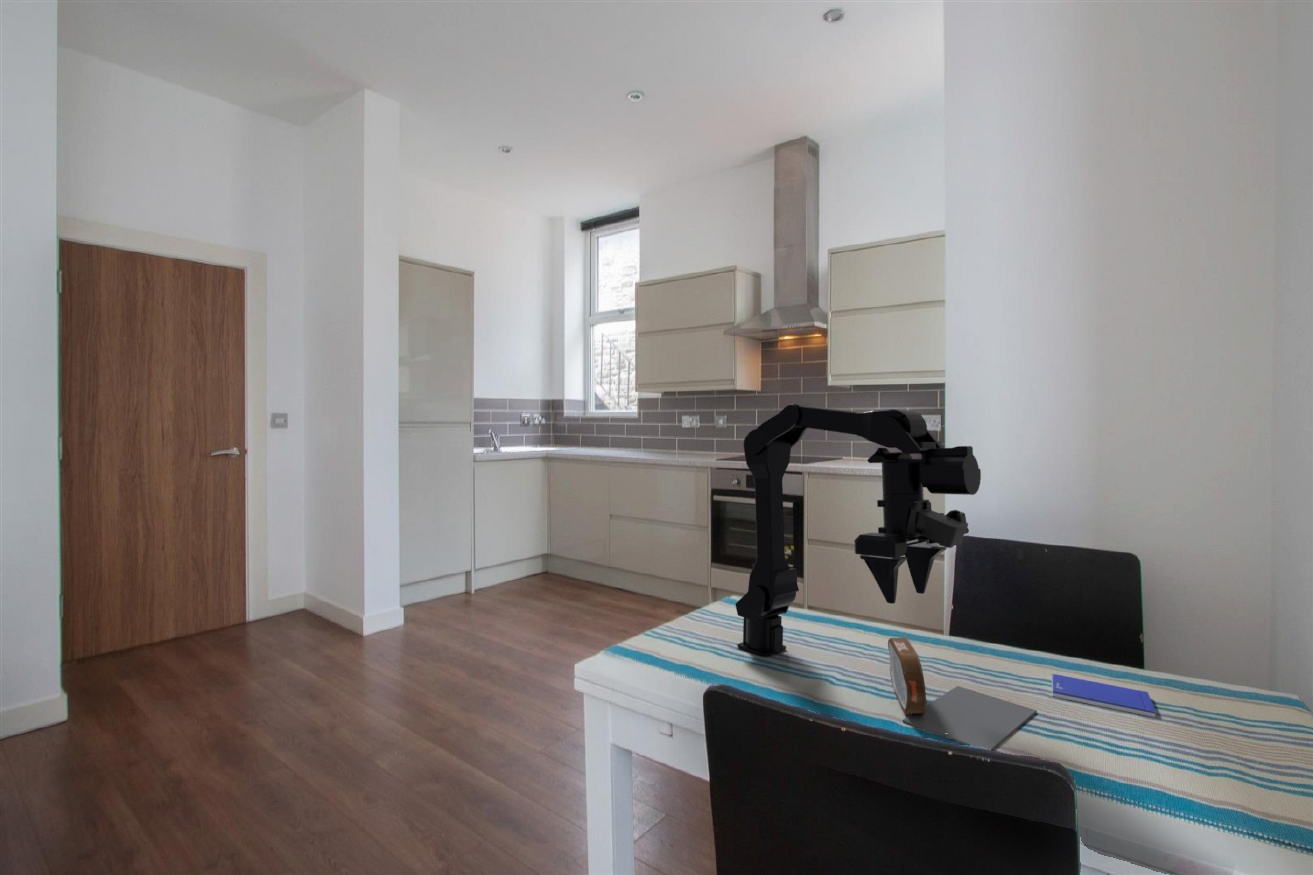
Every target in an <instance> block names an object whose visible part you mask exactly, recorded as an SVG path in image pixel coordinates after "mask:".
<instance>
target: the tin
mask: <svg viewBox="0 0 1313 875" xmlns="http://www.w3.org/2000/svg"><path fill="white" fill-rule="evenodd" d="M887 649H888V652H889V653H888V654H889V673H890V680H891V685H892V688H893V691H894V694H895V696H896V698H897V700H898V703H899V705H900V706H901V709H902V711H903V712H904V714H906V715H911V714H922V715H925V713H926V705H927V692H926V684H925V677H924V671H923V668H922V663H921V660H920V657H919V654H918V652H917V651H916V649H915V648H914V647H913V645H912V642H910V640H909V638H908V637H907V636H903V637H890V638H889V639H888V641H887Z"/></svg>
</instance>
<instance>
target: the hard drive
mask: <svg viewBox="0 0 1313 875" xmlns="http://www.w3.org/2000/svg"><path fill="white" fill-rule="evenodd" d="M1051 690H1052V691H1051V694H1052V697H1053V696H1055V698H1059V699H1064V700H1068V701H1073V702H1078V703H1084V704H1088V705H1093V706H1097V707H1103V708H1108V709H1113V710H1118V711H1123V712H1128V713H1133V714H1137V715H1142V716H1148V717H1153V718H1156V709H1155V707H1154V703H1153V701H1152V699H1151V696H1150V694H1149V692H1148V691H1145V690H1139V689H1134V688H1128V687H1123V686H1118V685H1115V684H1114V685H1113V684H1108V683H1103V682H1097V681H1091V680H1086V679H1082V678H1079V677H1078V678H1077V677H1072V676H1066V675H1062V674H1055V673H1052V674H1051Z"/></svg>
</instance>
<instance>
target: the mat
mask: <svg viewBox="0 0 1313 875" xmlns="http://www.w3.org/2000/svg"><path fill="white" fill-rule="evenodd" d="M1037 712H1038V711H1037V710H1036V709H1034V708H1030V707H1027V706H1025V705H1021V704H1018V703H1014V702H1010V701H1007V700H1005V699H1002V698H997V697H994V696H992V695H989V694H985V693H982V692H978V691H975V690H972V689H969V688H966V687H963V686H959V685H957V686H955V687H954V688H952V689H951V690H949V691H948V692H946V693H944V694H942V695H941V696H939V697H937V698H936V699H935V700H933V701H930V702H929V703H928V704H926V713H925V715H922V714H909V715H908V716H906V717H905V718H903V719H902V722H903V723H905V724H907V725H910V726H913V727H915V728H918V729H921V730H923V729H925V730H924V731H926V732H928V731H929V732H928V733H931V732H932V734H934V735H937V734H938V735H937V736H940V737H942V738H945V737H946V738H945V739H947V737H948V738H951V739H952V740H951V741H953V742H955V743H958V744H961V745H963V746H966V745H973V746H979V747H983V748H987V749H991V750H992V751H994V750H995V749H996V748H997V747H998V746H999V745H1000V744H1001V743H1003V742H1004V741H1005V740H1006V739H1008V737H1010V736H1011V735H1012V734H1013V733H1014V732H1016V731H1017V730H1018V729H1020V727H1021V726H1023V724H1025V723H1026V722H1027V721H1028V720H1029V719H1031V718H1032V717H1033V716H1034V715H1036V714H1037ZM1030 717H1031V718H1030ZM945 733H948V734H945ZM956 741H959V742H956Z"/></svg>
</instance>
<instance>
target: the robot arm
mask: <svg viewBox="0 0 1313 875" xmlns="http://www.w3.org/2000/svg"><path fill="white" fill-rule="evenodd" d="M807 429H814V430H821V431H827V432H833V433H834V432H835V433H839V434H840V433H841V434H849V435H855V436H857V437H860V438H863V439H864V440H866V441H868V442H871V443H873V444H876V445H879V446H881V447H878V448H876V449H877V450H876V451H875V452H874V453H873V454H872V455H870V456H869V458H867V462H868V463H869V464H881V480H882V482H881V484H882V486H881V487H882V499H877V500H876V502H877V503H876V506H877V508H883V509H882V513H883V517H882V518H883V526H880V527H877V532H869V533H868V532H866V533H862V534H859V535H858V536H857V537H856V538H855V539H854V541H853V542H854V554H855V555H859V558H860V559H861V560H863V562H864V563H865V564H866V566H867V567H868V570H869V571H870V573H871V575H872V576H873V578H874V580H875V581H876V584H877V586H878V588H879V590H880V591H881V593H882V595H883V597H884V599H885V601H886V602H887V603H888V604H893V605H894V604H895V603H896V600H897V595H898V594H897V592H898V581H899V580H898V578H899V570H900V569H899V568H900V567H901V566H902V565H903V564H904V563H905V562H906V563H907V567H908V570H909V574H910V577H911V580H912V583H913V586H914V589H915V592H916V593H917V594H920V595H921V594H923V595H924V594H925V593H926V589H927V586H928V582H929V578H930V576H931V575H930V574H931V571H932V568H933V564H934V561H935V559H936V558H937V557H938V556H939V555H940V554H942V553H943V552H944V551H946V550H947V548H948V549H950V548H951V549H952V548H953V547H954V546H958V547H959V546H961V544H962V541H963V539H964V536H965V535H966V534H968V533H969V531H970V530H969V528H968V526H969V523H968V522H967V518H966V513H965V512H963V511H961V510H958V509H953V510H950V511H948V512H946V514H945V513H943V512H936V511H934V510H932V502H931V501H930V499H925V498H924V488H926V489H927V491H928V492H929V493H930V494H932V495H933V494H935V495H966V496H968V495H969V496H974V495H976V494H977V492H978V491H979V490H980V485H981V480H982V477H981V476H982V474H981V468H980V467H979V463H978V460H977V457H976V456H975V455H974V450H973V449H974V448H973V446H972V445H959V446H954V447H945V448H944V447H942V446H941V444H940V443H939V442H938V441H937V440H936V439H935V437H934V436H933V435H932V434H931V433H930V431H929V430H928V426H927V422H926V419H925V418H924V417H923V415H922V414H921V413H920V412H917V411H914V410H909V409H908V410H906V409H894V408H891V409H890V408H889V409H877V410H868V411H853V410H844V409H836V408H827V407H819V406H812V405H809V404H806V403H805V404H804V403H790V404H788V405H786V406H785V407H784V408H783V409H782V410H781V411H779V412H778V413H777V414H776V415H774V416H772V417H771V418H769V419H767V420H766V421H764V422H762V423H761V424H759V425H758V427H757V428H755V429H752V430H750V431H749V432H748V433H747V435H746V436H745V437H744V439H743V443H742V444H743V451H744V458H745V463H746V466H747V467H748V470H749V471H750V474H752V478H753V480H754V499H755V500H754V501H755V502H754V503H755V505H754V506H755V532H756V533H755V537H756V538H755V540H756V561H755V562H754V564H753V567H752V569H751V570H750V574H749V577H748V578H749V579H748V587H747V588H748V589H747V592H746V593H745V594H744V595H743V596H742V597H741V598H739V600H737V602H736V603H735V609H736V613H737V616H739V617H740V618H741V617H742V618H743V627H742V628H743V629H742V631H743V632H742V642H739V643H737V644H736V645H737V648H739V649H742V650H744V651H748V652H751V653H752V654H756V655H759V656H762V657H767V656H770V655H774V654H776V653H778V652H782V651H784V650H786V649H787V645H785V644H784V626H783V625H782V622H783V621H782V620H783V619H782V618H783V616H781V615H782V614H787V613H788V611H789V607H790V605H791V604H792V603H793V602H794V601H795V600H796V597H797V592H799V591H800V589H799V587H798V574H799V572H798V569H797V568H795V567H794V568H791V567H790V565H789V564H788V562H787V560H786V555H785V554H786V552H785V551H786V550H785V529H784V528H785V527H784V526H785V522H784V520H785V519H784V495H783V494H784V493H783V492H784V491H783V488H784V487H783V478H784V476H785V473H786V471H787V469H788V466H789V465H790V461H791V460H790V459H791V451H792V448H793V447H794V446H795V445H797V444H798V442H800V441H801V440H802V437H803V435H804V433H805V432H806V430H807ZM882 446H883V447H882ZM888 448H889V449H890V448H891V449H893V448H895V449H897V450H899V451H890V450H888ZM917 454H918V455H919V454H920V455H921V458H913V457H912V455H917Z"/></svg>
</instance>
